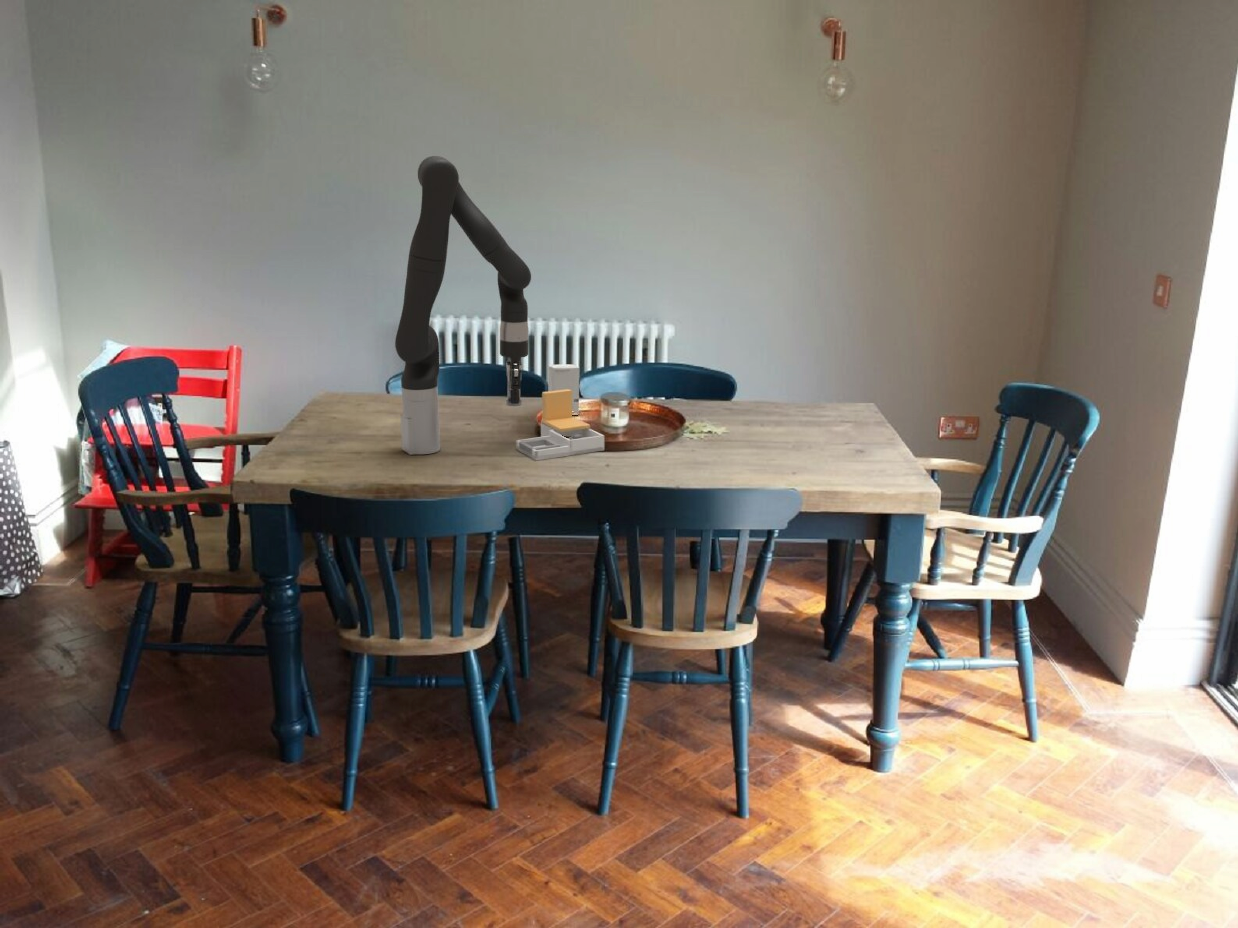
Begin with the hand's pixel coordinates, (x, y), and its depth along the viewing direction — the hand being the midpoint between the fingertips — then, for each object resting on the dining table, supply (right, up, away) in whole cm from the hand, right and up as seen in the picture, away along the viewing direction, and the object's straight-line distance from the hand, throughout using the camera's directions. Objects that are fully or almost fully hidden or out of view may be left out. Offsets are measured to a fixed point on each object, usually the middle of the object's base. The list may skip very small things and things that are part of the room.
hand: (513, 401), depth 302 cm
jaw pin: (0, -1, 0) cm, 1 cm away
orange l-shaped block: (+13, -6, +5) cm, 16 cm away
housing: (+11, -12, +1) cm, 16 cm away
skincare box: (+12, -2, +34) cm, 36 cm away
